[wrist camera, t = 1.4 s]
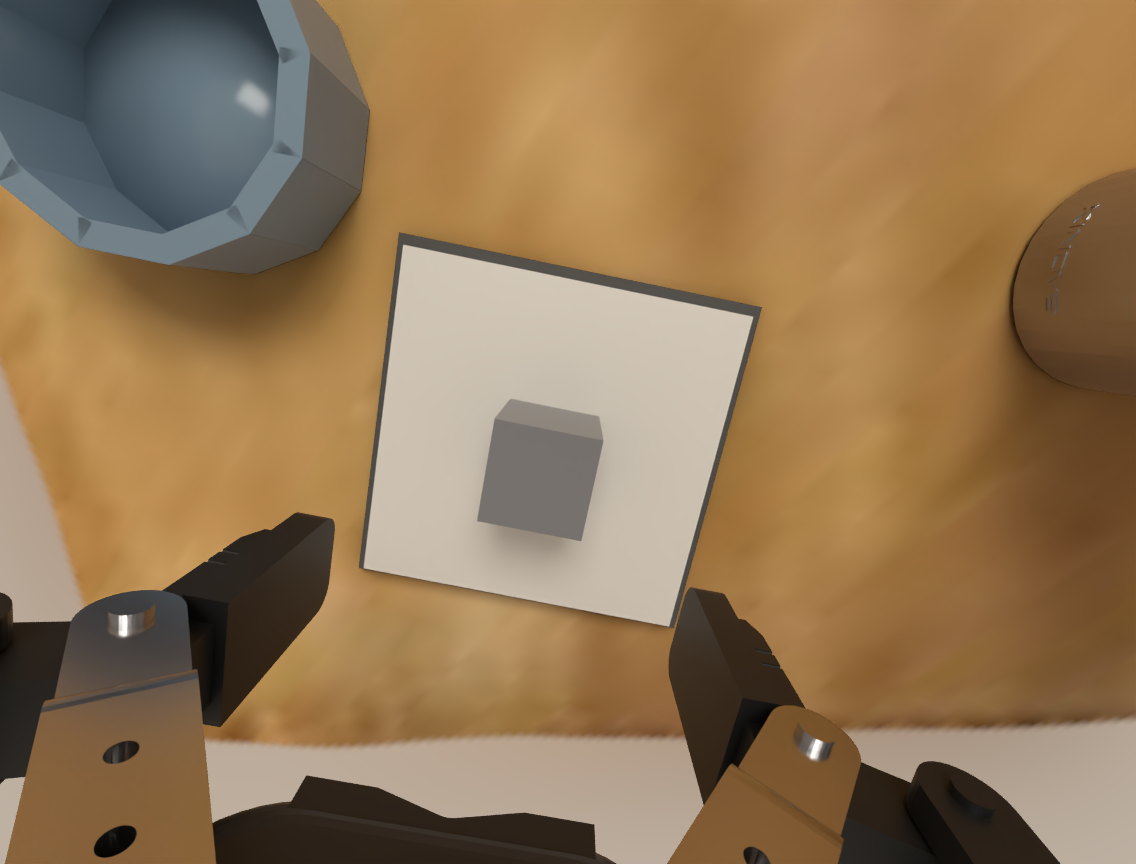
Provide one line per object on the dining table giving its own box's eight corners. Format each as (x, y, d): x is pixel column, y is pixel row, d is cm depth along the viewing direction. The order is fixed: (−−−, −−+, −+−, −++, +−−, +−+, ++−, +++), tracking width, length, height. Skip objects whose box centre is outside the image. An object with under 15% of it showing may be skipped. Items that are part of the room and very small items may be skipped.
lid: (747, 316, 23) (795, 317, 18) (666, 617, 26) (687, 691, 21) (409, 246, 23) (359, 227, 18) (369, 560, 26) (318, 622, 21)
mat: (758, 307, 24) (761, 307, 23) (672, 622, 27) (673, 627, 27) (402, 234, 23) (399, 232, 23) (362, 563, 27) (358, 567, 26)
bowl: (381, -11, 21) (322, -107, 16) (350, 294, 24) (291, 289, 19) (80, -76, 21) (-72, -195, 16) (82, 239, 23) (-47, 221, 19)
